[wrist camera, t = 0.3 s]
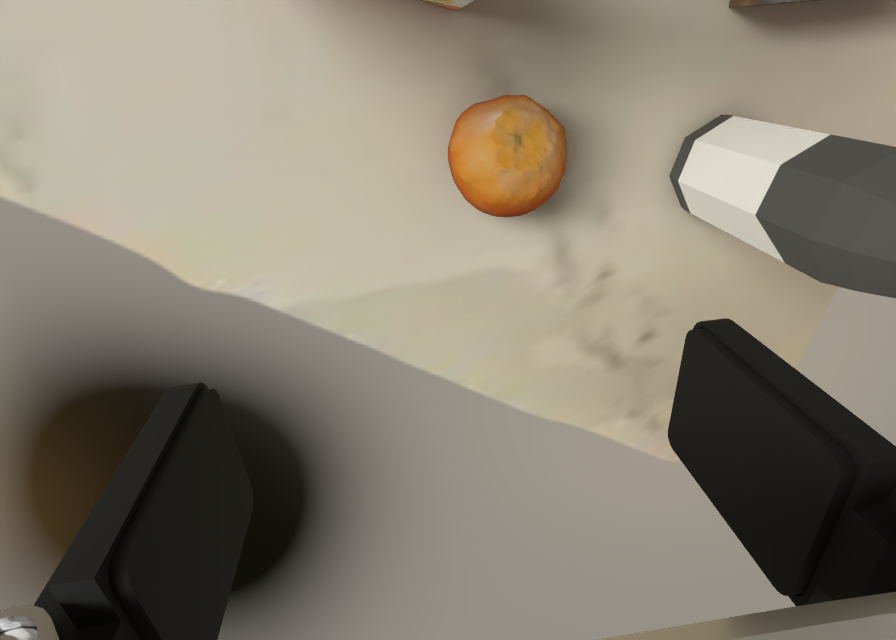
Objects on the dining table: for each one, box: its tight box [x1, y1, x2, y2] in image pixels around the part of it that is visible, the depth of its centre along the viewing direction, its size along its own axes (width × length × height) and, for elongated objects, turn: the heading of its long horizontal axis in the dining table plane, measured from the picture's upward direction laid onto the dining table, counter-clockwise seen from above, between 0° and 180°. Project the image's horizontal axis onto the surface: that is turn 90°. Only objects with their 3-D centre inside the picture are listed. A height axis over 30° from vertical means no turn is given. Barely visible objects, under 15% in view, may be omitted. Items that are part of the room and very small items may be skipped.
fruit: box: [448, 95, 566, 217], centre depth 36 cm, size 8×8×8 cm
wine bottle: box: [670, 115, 896, 298], centre depth 28 cm, size 8×8×30 cm
